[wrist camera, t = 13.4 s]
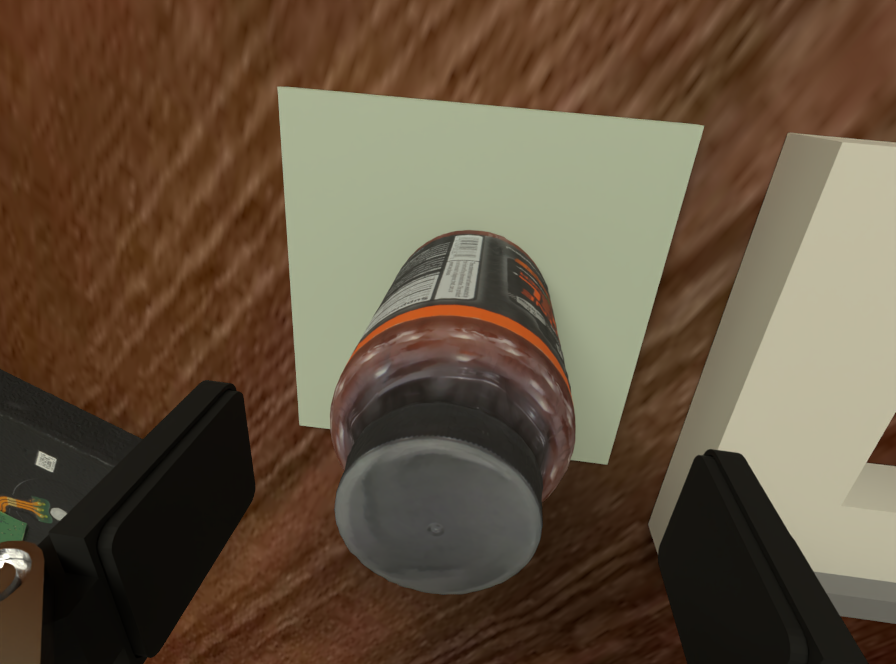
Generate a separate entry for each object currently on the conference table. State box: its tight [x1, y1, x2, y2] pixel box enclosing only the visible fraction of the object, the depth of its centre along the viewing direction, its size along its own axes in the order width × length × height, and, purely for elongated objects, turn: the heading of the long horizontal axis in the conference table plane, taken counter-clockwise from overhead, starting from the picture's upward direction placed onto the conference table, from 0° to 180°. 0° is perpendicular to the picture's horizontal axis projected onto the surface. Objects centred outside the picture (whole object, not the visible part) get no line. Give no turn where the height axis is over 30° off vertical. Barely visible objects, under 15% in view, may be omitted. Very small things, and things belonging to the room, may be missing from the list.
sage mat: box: [278, 87, 704, 465], centre depth 20 cm, size 14×14×1 cm
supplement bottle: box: [330, 230, 576, 595], centre depth 14 cm, size 6×6×11 cm
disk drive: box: [0, 369, 143, 545], centre depth 26 cm, size 10×3×15 cm
